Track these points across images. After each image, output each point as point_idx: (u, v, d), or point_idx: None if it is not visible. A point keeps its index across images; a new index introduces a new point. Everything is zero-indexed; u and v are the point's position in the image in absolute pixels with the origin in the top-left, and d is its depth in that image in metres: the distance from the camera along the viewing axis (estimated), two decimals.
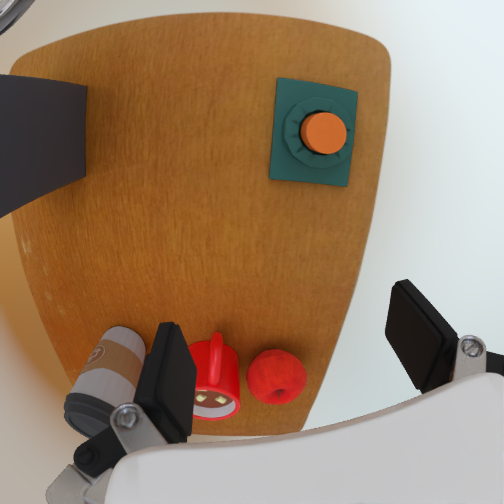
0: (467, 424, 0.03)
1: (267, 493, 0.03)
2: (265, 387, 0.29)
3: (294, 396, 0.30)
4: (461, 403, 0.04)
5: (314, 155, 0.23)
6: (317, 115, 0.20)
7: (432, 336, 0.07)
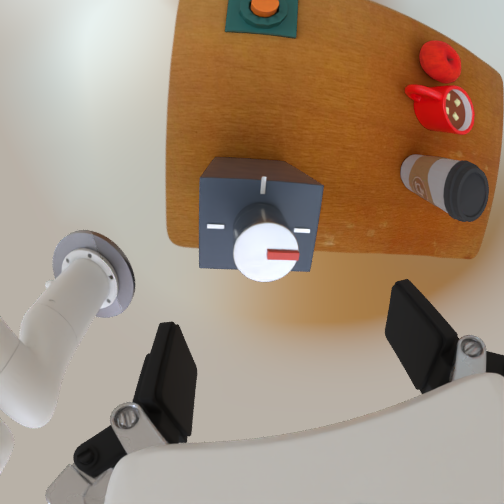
0: (467, 424, 0.03)
1: (267, 493, 0.03)
2: (444, 65, 0.25)
3: (453, 50, 0.24)
4: (461, 403, 0.04)
5: (279, 10, 0.26)
6: (254, 6, 0.24)
7: (432, 336, 0.07)
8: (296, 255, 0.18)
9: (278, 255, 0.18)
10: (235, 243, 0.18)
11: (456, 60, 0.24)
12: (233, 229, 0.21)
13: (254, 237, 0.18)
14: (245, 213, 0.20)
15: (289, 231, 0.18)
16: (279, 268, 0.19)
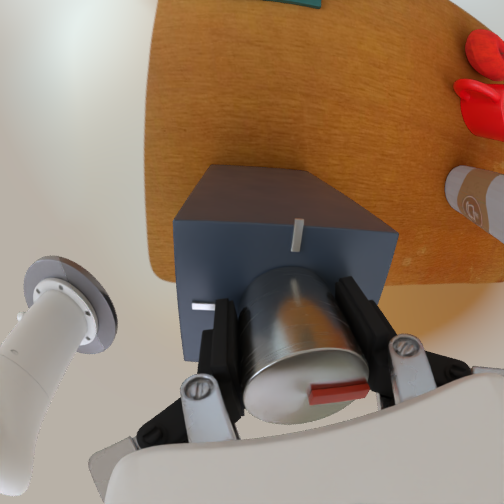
0: (467, 424, 0.03)
1: (267, 493, 0.03)
2: (498, 59, 0.15)
3: None
4: (461, 403, 0.04)
5: None
6: None
7: (363, 332, 0.08)
8: (364, 392, 0.08)
9: (331, 398, 0.08)
10: (246, 383, 0.08)
11: None
12: (239, 322, 0.11)
13: (287, 375, 0.08)
14: (263, 298, 0.10)
15: (360, 358, 0.07)
16: (327, 407, 0.09)
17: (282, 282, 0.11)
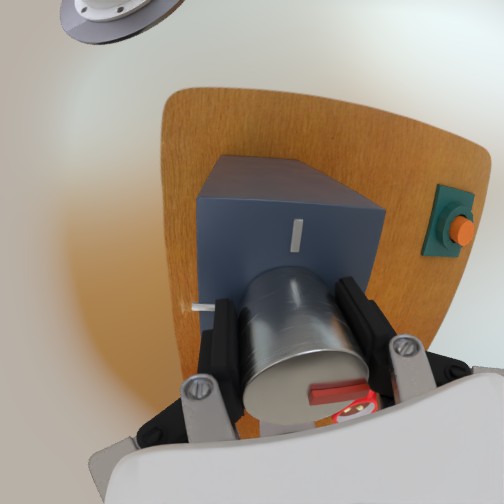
0: (467, 424, 0.03)
1: (267, 493, 0.03)
2: None
3: None
4: (461, 403, 0.04)
5: (453, 243, 0.30)
6: (464, 222, 0.27)
7: (363, 332, 0.08)
8: (364, 392, 0.08)
9: (331, 398, 0.08)
10: (246, 385, 0.08)
11: None
12: (239, 323, 0.11)
13: (287, 376, 0.08)
14: (263, 299, 0.10)
15: (359, 358, 0.07)
16: (327, 407, 0.09)
17: (281, 283, 0.11)
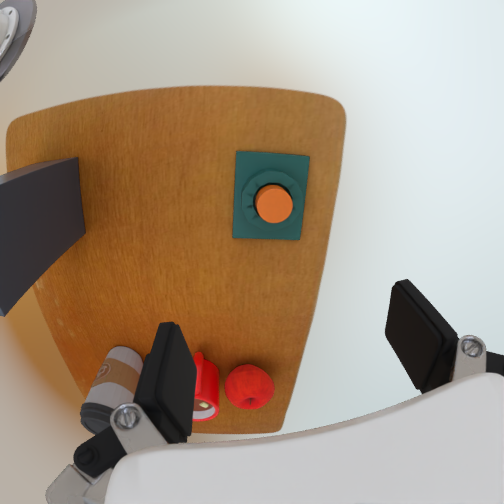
0: (467, 424, 0.03)
1: (267, 493, 0.03)
2: (238, 396, 0.36)
3: (263, 403, 0.37)
4: (461, 403, 0.04)
5: None
6: (266, 192, 0.27)
7: (432, 336, 0.07)
8: None
9: None
10: None
11: (252, 406, 0.38)
12: None
13: None
14: None
15: None
16: None
17: None
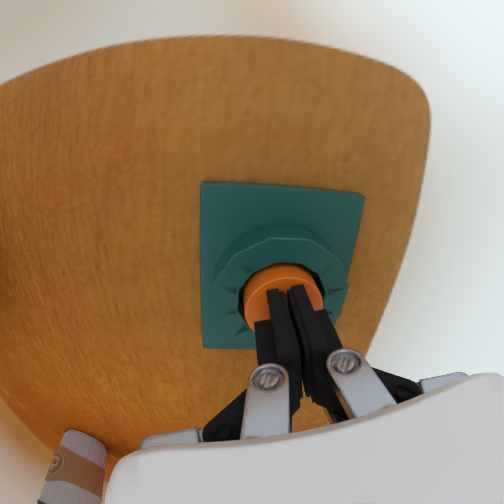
0: (467, 424, 0.03)
1: (267, 493, 0.03)
2: None
3: None
4: (461, 403, 0.04)
5: None
6: (266, 285, 0.12)
7: (302, 344, 0.09)
8: None
9: None
10: None
11: None
12: None
13: None
14: None
15: None
16: None
17: None
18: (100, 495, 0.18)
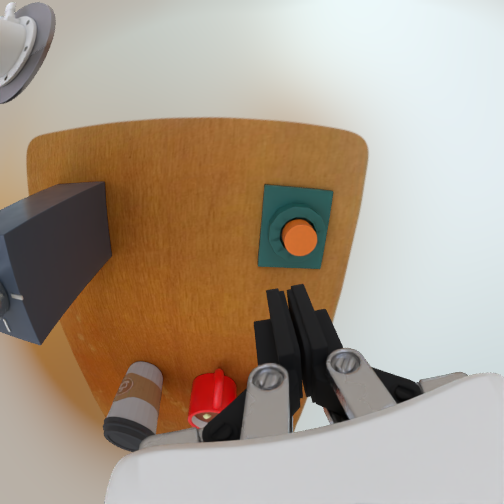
0: (467, 424, 0.03)
1: (267, 493, 0.03)
2: None
3: None
4: (461, 403, 0.04)
5: None
6: (293, 228, 0.28)
7: (302, 344, 0.09)
8: None
9: None
10: None
11: None
12: None
13: None
14: None
15: None
16: None
17: None
18: (158, 411, 0.36)
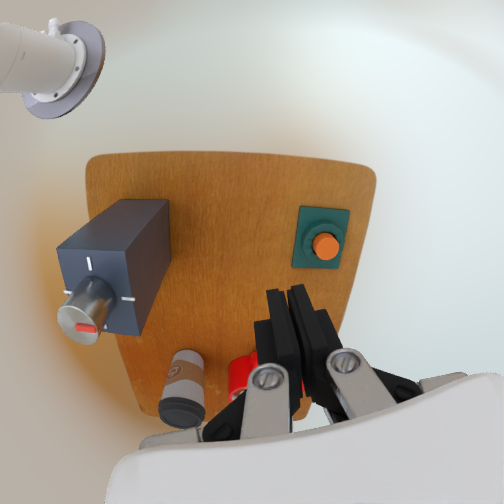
0: (467, 424, 0.03)
1: (267, 493, 0.03)
2: None
3: (302, 390, 0.49)
4: (461, 403, 0.04)
5: None
6: (323, 239, 0.38)
7: (302, 344, 0.09)
8: (92, 329, 0.19)
9: (81, 328, 0.19)
10: (57, 318, 0.19)
11: None
12: None
13: (64, 315, 0.19)
14: (74, 289, 0.22)
15: (82, 312, 0.19)
16: (88, 336, 0.20)
17: (81, 283, 0.22)
18: None
